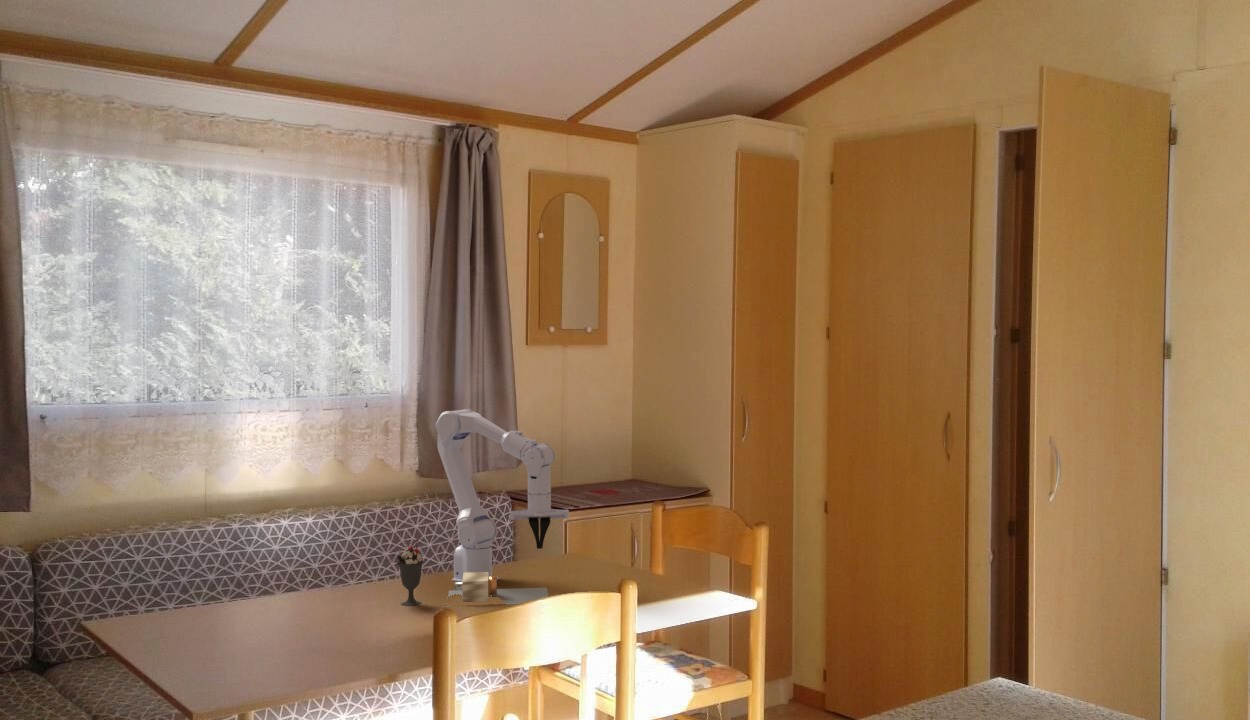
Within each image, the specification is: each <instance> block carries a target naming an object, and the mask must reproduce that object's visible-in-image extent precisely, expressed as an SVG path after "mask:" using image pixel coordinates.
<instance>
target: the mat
mask: <svg viewBox="0 0 1250 720" xmlns="http://www.w3.org/2000/svg"><path fill="white" fill-rule="evenodd" d="M454 594H456V595H457V594H459V595H460V594H461V595H462V591H455V590H454V589H453V590H448V595H447V597H448V596H449V597H450V595H451V596H452V595H454ZM489 596H490V595H489ZM545 596H549V590H548V587H523V588H521V587H520V588H519V587H518V588H517V587H516V588H497V595H492V597H498V598H500V599H501V600H503V602H504V603H505V604H507V605H506V606H509V605H510V606H511V605H513V604H517V605H519V604H518V603H522V602H526V601H529V600H535V599H538V598H541V597H545ZM490 597H491V596H490ZM445 607H446V608H448V607H450V606H446V605H445Z"/></svg>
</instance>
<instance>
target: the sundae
mask: <svg viewBox="0 0 1250 720" xmlns="http://www.w3.org/2000/svg"><path fill="white" fill-rule="evenodd" d="M418 541H419V539H415V541H414V543H413V544H412V545H411V546H408V549H406V550H404V551H403V552H402V554H398V555H397V557H396V558H397V559H398V560H396V563H395V564H396V565H397V566H398V567H399V571H400V579H401V583H402V584H401V585H402V586H403V587H404V588H405V589H407V591H408V596H407V600H405V601H403V602H401V603H400V605H401V606H404V607H416V606H420V605H422V602H421V601H419V600H416V599H415V595H414V590H415V589H416V588H417V587H418V586H419V585H420V584H421V583H420V582H421V577H422V576H421V575H422V567H423V563H425V562H426V560H423V556H422V555H421V553H420V550H419V548H418V547H417V544H418ZM414 545H415V548H414V547H413V546H414Z"/></svg>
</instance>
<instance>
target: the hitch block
mask: <svg viewBox="0 0 1250 720" xmlns="http://www.w3.org/2000/svg"><path fill="white" fill-rule="evenodd" d="M488 576H489V572H467V573H463V581H462V600H463V602H488V597H489V595H488Z"/></svg>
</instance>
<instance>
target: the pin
mask: <svg viewBox="0 0 1250 720" xmlns="http://www.w3.org/2000/svg"><path fill="white" fill-rule="evenodd" d="M497 577H498V576H497V575H492V576H488V595H497V589H498V583H497V582H498V580H497ZM453 588H454V589H453V590H455V591H462V582H458V581H454V587H453Z"/></svg>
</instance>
